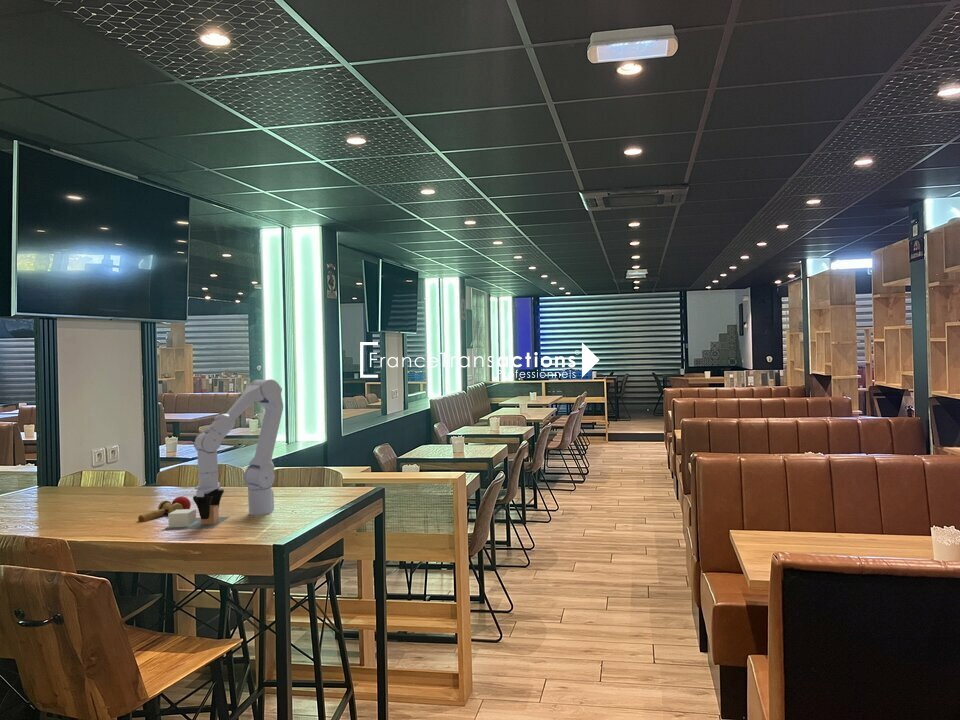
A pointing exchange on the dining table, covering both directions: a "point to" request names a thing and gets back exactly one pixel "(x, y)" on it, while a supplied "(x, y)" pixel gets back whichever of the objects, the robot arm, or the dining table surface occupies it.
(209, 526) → the grey flat plate
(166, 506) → the kendama
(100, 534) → the dining table surface
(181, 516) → the base block
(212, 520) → the terracotta block
